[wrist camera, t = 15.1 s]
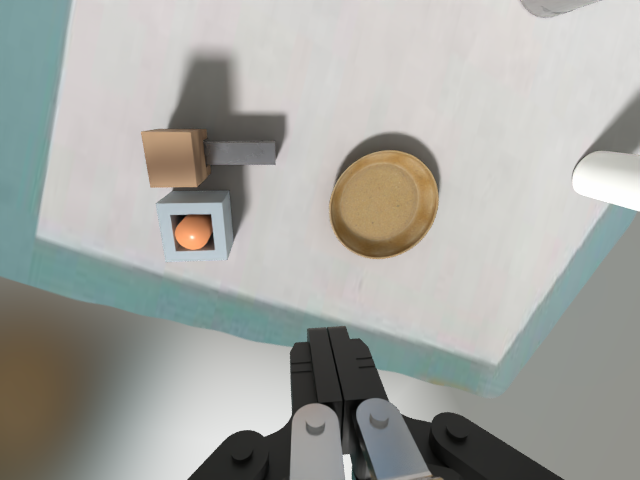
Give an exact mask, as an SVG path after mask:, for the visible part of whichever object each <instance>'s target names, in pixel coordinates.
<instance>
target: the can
mask: <svg viewBox="0 0 640 480" xmlns="http://www.w3.org/2000/svg"><path fill="white" fill-rule="evenodd" d="M572 183H573V187H574V189H575V191H576V192H577V193H579V194H581V195H584V196H587V197H590V198H594V199H597V200H601V201H605V202H608V203H612V204H615V205H619V206H622V207H626V208H629V209H633V210H637V211H640V155H636V154H627V153H619V152H611V151H595V152H593V153H590V154H589V155H587V156H586V157H584V158H583V159H582V160H581V161H580V162H579V163H578V164H577V166H576V168H575V170H574V172H573V176H572Z"/></svg>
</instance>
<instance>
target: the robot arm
mask: <svg viewBox="0 0 640 480" xmlns="http://www.w3.org/2000/svg"><path fill="white" fill-rule="evenodd" d="M520 1H521V2H522V4H523V5H524V7H525V8H526V9H527V10H528V11H529V12H530V13H532V14H534V15H536V16H538V17H543V18H545V17H553V16H556V15H559V14H563V13H567V12H570V11H573V10H575V9H577V8H580V7H584V6H587V5H590V4H592V3H595V2H598V1H601V0H520ZM290 372H291V399H292V416H291V418H290V420H289V422H288V423H287V424H286V425H285V426H284V427H283V428H282V429H280V430H279V431H277V432H275V433H273V434H270V435H268V436H266V437H263V436H262V435H261V434H259V433H257V432H255V431H251V430H244V431H239V432H236V433H235V434H232V435H231V436H229V437H228V438H227V439H226V440H225V441H223V442H222V444H221V445H220V446H219V447H218V448H217V449H216V450H215V451H214V452H213V453H212V454H211V455H210V456H209V457H208V458H207V459H206V460H205V462H204V463H203V464H202V465H201V466H200V467H199V468H198V469H197V470H196V471H195V472H194V473H193V474H192V475H191V476H190V477H189V478H188V480H345V475H344V465H343V456H342V455H344V454H350V457H351V462H352V480H564V479H562V478H561V477H559V476H557V475H556V474H554V473H553V472H551V471H549V470H547V469H546V468H545V467H543V466H541V465H540V464H538V463H537V462H535V461H533V460H532V459H530V458H529V457H527V456H525V455H524V454H522V453H521V452H519V451H517V450H516V449H514V448H513V447H511V446H510V445H507V444H506V443H505V442H503V441H502V440H500V439H498V438H497V437H495V436H494V435H492V434H490V433H489V432H487V431H486V430H484V429H482V428H481V427H479V426H478V425H476V424H474V423H473V422H471V421H470V420H468V419H466V418H465V417H463V416H461V415H458V414H455V413H450V412H445V413H440V414H438V415H436V416H435V417H434V419H433V420H432V423H430V422H426V421H421V420H416V419H412V418H409V417H406V416H404V415H402V414H401V413H400V411H399V410H398V409H397V407H395V406H394V405H393V404H392V403H390V402H389V400H388V398H387V395H386V392H385V390H384V387H383V384H382V382H381V379H380V377H379V374H378V371H377V369H376V368H375V364H374V361H373V359H372V356H371V353H370V351H369V348H368V346H367V345H366V344H365V343H364V342H363V341H362V340H361V339H360V338H359V339H350V338H349V335H348V332H347V329H346V327H345V326H339V327H327V329H326V327H324V328H308V329H307V342H298V343H295V344H294V346H293V348H292V350H291V352H290Z"/></svg>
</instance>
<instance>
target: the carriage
mask: <svg viewBox="0 0 640 480" xmlns="http://www.w3.org/2000/svg"><path fill="white" fill-rule="evenodd" d="M141 135H142V141H143V146H144V152H145V158H146V164H147V169H148V175H149V181H150V187H198V186H199V185H200V184H201V183H202V182H203V181H204V180H205V179H206V178H207V176H208V175H209V174H210V173H211V168H210V165H206V163H205V153H204V144H203V140H204V139H207V130H206V129H155V130H149V131H142V132H141Z"/></svg>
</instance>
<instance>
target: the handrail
mask: <svg viewBox="0 0 640 480" xmlns="http://www.w3.org/2000/svg"><path fill="white" fill-rule="evenodd" d="M203 144H204V153H205V163H206V165H276V155H275V140H262V141H261V142H203Z"/></svg>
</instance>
